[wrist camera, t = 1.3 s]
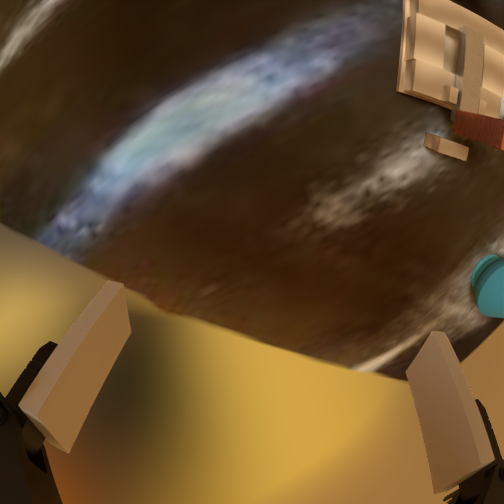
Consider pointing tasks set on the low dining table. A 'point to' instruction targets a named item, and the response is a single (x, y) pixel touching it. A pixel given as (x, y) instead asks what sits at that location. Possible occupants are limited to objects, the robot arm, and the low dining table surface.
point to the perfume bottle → (489, 286)
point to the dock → (446, 61)
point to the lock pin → (473, 93)
